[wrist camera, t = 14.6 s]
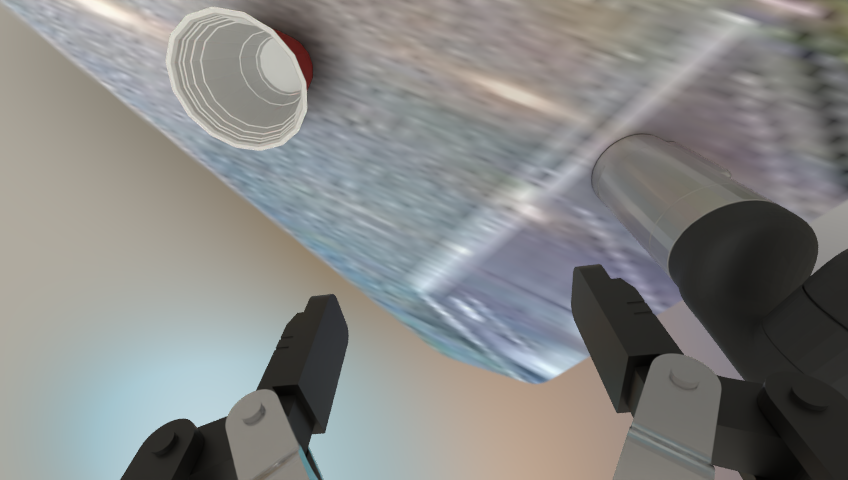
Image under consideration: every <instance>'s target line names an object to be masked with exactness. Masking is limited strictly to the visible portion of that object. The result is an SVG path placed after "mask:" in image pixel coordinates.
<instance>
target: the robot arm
mask: <svg viewBox="0 0 848 480" xmlns="http://www.w3.org/2000/svg"><path fill="white" fill-rule="evenodd" d="M730 177H731V174H730V172H729V171H728V170H726V169H724V168H722V167H721V166H719V165H717V164H715V163H713V162H711V161H709V160H708V159H706V158H704V157H702V156H700V155H698V154H697V153H695V152H693V151H691V150H689V149H687V148H685V147H684V146H682V145H680V144H678V143H676V142H665V141H663V140H662V139H660V138H658V137H656V136H652V135H647V134H638V135H632V136H629V137H626V138H623V139H621V140H619V141H618V142H616V143H614V144H613V145H612V146H610V147H609V148H608V149H607V150H606V151H605V152H604V153H603V154H602V155H601V157H600V158H599V160H598V161H597V163H596V165H595V167H594V170H593V175H592V185H593V189H594V191H595V193H596V195H597V196H598V197H599V198H600V199H601V201H602V202H603V203H604V204H605V205H606V206H607V207H608V208H609V210H610V211H611V212H612V213H613V214H614V215H615V217H616V218H617V219H618V220H619V221H620V222H621V223H622V224H623V225H624V227H625V228H626V229H627V230H628V231H629V232H630V233H631V234H632V236H633V237H634V238H635V239H636V240H637V241H638V242H639V243H640V244H641V246H642V247H643V248H644V249H645V250H646V251H647V252H648V253H649V255H650V256H651V257H652V258H653V259H654V260H655V261H656V262H657V263H658V264H659V266H660V267H661V268H662V269H663V270H664V271H665V272H666V273H667V275H668V276H669V277H670V278H671V279H672V280H673V281H674V283H675V284H676V285H677V286H678V287H679V291H680V294H681V296H682V298H683V300H684V302H685V303H686V305H687V306H688V307H689V309H690V310H691V311H692V312H693V314H694V315H695V316H696V317H697V318H698V320H699V321H700V322H701V323H702V325H703V326H704V327H705V329H706V330H707V331H708V333H709V334H710V335H711V337H712V338H713V339H714V341H715V342H716V343H717V345H718V346H719V347H720V349H721V350H722V351H723V353H724V354H725V355H726V357H727V358H728V359H729V361H730V362H731V363H732V365H733V366H734V367H735V369H736V370H737V371H738V373H739V374H740V375H741V376H742V378H743V379H744V380H745V381H742V380H736V379H731V378H725V377H721V376H718V375H716V374H715V373H714V372H713V371H712V370H711V369H710V368H709V367H707V366H706V365H705V364H703V363H702V362H700V361H698V360H696V359H694V358H692V357H689V356H686V355H684V354H683V353H682V351H681V350H680V349H679V347H678V346H677V344H676V343H675V342H674V340H673V339H672V338H671V336H670V335H669V334H668V332H667V331H666V329H665V328H664V327H663V325H662V324H661V323H660V321H659V320H658V318H657V317H656V316H655V314H653V313H652V310H651V309H650V308H649V306H648V305H647V303H645V302H644V299H643V298H642V297H641V295H640V294H639V292H638V291H637V290H636V288H634V287H633V286H631V285H630V284H628V283H627V282H625V281H624V280H623V279H621V278H617V279H611V278H610V277H609V275H608V274H607V272H606V271H605V269H604V268H603V267H602V265H600V264H596V265H588V266H579V267H575V268H574V271H573V284H572V298H571V308H572V314H573V318H574V321H575V323H576V325H577V327H578V329H579V332H580V334H581V336H582V338H583V340H584V343H585V345H586V347H587V349H588V351H589V353H590V356H591V358H592V360H593V362H594V364H595V366H596V369H597V371H598V373H599V375H600V377H601V380H602V382H603V384H604V386H605V388H606V391H607V393H608V395H609V397H610V399H611V401H612V404H613V406H614V408H615V410H616V412H617V413H626V412H631V414H632V416H633V418H634V419H633V422H632V425H631V427H630V428H629V431H628V434H627V437H626V440H625V443H624V446H623V449H622V452H621V455H620V458H619V461H618V464H617V467H616V471H615V474H614V477H613V480H714V477H715V468H714V466H713V465H715V466H719V467H724V468H727V469H731V470H735V471H738V472H739V473H740V475H741V477H742V479H743V480H848V249H846V250H845V251H843V252H841V253H840V254H838V255H837V256H835V257H834V258H832V259H831V260H830V261H828V262H827V263H826V264H825V265H824V266H822V267H821V268H820V269H819V270H817V271H816V272H815V273H814V274H813V275H811V273H812V271H813V268H814V266H815V263H816V260H817V255H818V241H817V238H816V235H815V233H814V231H813V229H812V228H811V227H810V226H809V225H808V224H807V222H805V221H804V220H803V219H802V218H800V217H799V216H797V215H795V214H794V213H792V212H790V211H788V210H787V209H785V208H783V207H781V206H779V205H778V204H776V203H774V202H772V201H770V200H769V199H767V198H765V197H763V196H762V195H760V194H758V193H756V192H754V191H753V190H751V189H749V188H747V187H745V186H743V185H742V184H740V183H738V182H736V181H734V180H733V179H731V178H730ZM810 275H811V276H810ZM347 345H348V327H347V324H346V321H345V319H344V316H343V314H342V311H341V308H340V306H339V303H338V301H337V298H336V296H335V295H334V294H328V295H320V296H312V297H311V298H310V299H309V301H308V304H307V306H306V308H305V311H304V312H302V313H297V314H296V315H295V316H294V317H293V318H292V319H291V321H290V322H289V323H288V324H287V325H286V327H285V329H284V332H283V334H282V336H281V340H279V342H278V344H277V347H276V350H275V351H274V353H273V355H272V357H271V360H270V362H269V364H268V366H267V368H266V370H265V372H264V375H263V377H262V379H261V381H260V383H259V386H258V387H257V390H256V391H254V392H252V393H250V394H248V395H246V396H245V397H243V398H242V399H241V400H239V401H238V402H237V403H236V404H235V406H234V407H233V408H232V409H231V411H230V413H229V414H228V416H227V417H224V418H221V419H219V420H216V421H213V422H211V423H208V424H206V425H203V426H200V427H198V428H197V427H196V426H195V425H194V424H193V423H192V422H191V421H190V420H188V419H177V420H174V421H171V422H169V423H167V424H165V425H163V426H162V427H160V428H158V429H157V430H156V431H155V432H153V433H152V434H151V435H150V436H149V437H148V438H147V439H146V440H145V442H144V443H143V445H142V446H141V447H140V449H139V450H138V452H137V454H136V455H135V457H134V458H133V460H132V462H131V463H130V465H129V466H128V468H127V470H126V472H125V473H124V475H123V476H122V478H121V480H324V479H323V477H322V475H321V472H320V470H319V468H318V466H317V463H316V461H315V459H314V457H313V455H312V452H311V450H310V448H309V447H308V445H309V442H310V439H311V435H312V434H321V433H325V431H326V426H327V423H328V419H329V415H330V411H331V407H332V403H333V399H334V395H335V392H336V388H337V384H338V379H339V376H340V372H341V368H342V364H343V360H344V356H345V352H346V348H347Z"/></svg>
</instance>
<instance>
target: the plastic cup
mask: <svg viewBox="0 0 848 480" xmlns="http://www.w3.org/2000/svg"><path fill="white" fill-rule="evenodd" d="M165 62H166V66H167V70H168V74H169V78H170V82H171V86H172V90H173V92H174V93H175V95H176V96H177V98H178V100H179V101H180V103H181V104H182V106H183V108H184V109H185V111H186V112H187V114H188V115H189V116H190V117H191V118H192V119H193V120H194V121H195V122H196V123H197V124H198V125H200V126H201V127H202V128H203V129H204V130H205V131H206V132H207V133H209V134H210V135H211V136H213V137H215V138H217V139H219V140H221V141H223V142H225V143H227V144H229V145H232V146H234V147H236V148H243V149H251V150H258V151H262V150H265V149H269V148H273V147H277V146H281V145H283V144H284V143H285V142H287V141H288V140H289V139H290V138H291V137H292V136H294V135H295V134H296V133H297V132H298V131H299V129H300V127H301V124H302V122H303V119H304V117H305V114H306V112H307V90H308V88H309V85H310V83H311V80H312V78H313V65H312V62H311V59H310V56H309V54H308V52H307V51H306V50H305V48H304V47H303V46H302V45H301V43H300V42H298V41H297V40H295V39H294V38H292V37H290V36H289V35H286V34H284V33H282V32H280V31H278V30H275V29H272V28H270V27H268V26H266V25H265V24H263V23H261V22H260V21H258V20H256V19H255V18H253V17H251V16H250V15H248V14H246V13H245V12H241V11H235V10H230V9H224V8H218V7H210V8H207V9H204V10H201V11H197V12H194V13H191V14H188V15H186V16H185V17H184V19H183V20H182V21H181V22H180V23H179V25H178V26H177V27H176V28H175V29H174V31H173V32H172V33H171V34H170V38H169V44H168V50H167V55H166V61H165Z"/></svg>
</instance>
